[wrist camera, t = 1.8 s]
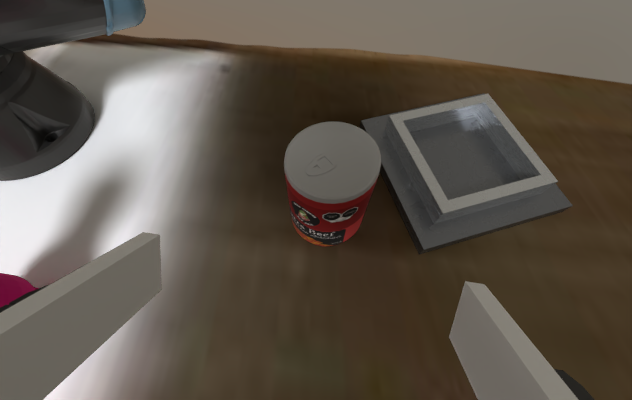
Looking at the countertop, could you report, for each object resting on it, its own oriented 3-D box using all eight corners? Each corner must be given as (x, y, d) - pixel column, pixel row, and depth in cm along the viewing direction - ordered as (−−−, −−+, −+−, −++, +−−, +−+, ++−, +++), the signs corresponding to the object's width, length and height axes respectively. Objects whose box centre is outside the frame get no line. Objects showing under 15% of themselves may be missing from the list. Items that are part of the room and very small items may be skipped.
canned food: (277, 222, 33) (263, 164, 23) (321, 174, 36) (324, 106, 26) (333, 264, 31) (343, 220, 21) (374, 209, 34) (400, 149, 24)
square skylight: (359, 128, 39) (364, 105, 36) (478, 101, 42) (494, 78, 38) (419, 254, 31) (432, 240, 28) (562, 211, 34) (591, 194, 30)
